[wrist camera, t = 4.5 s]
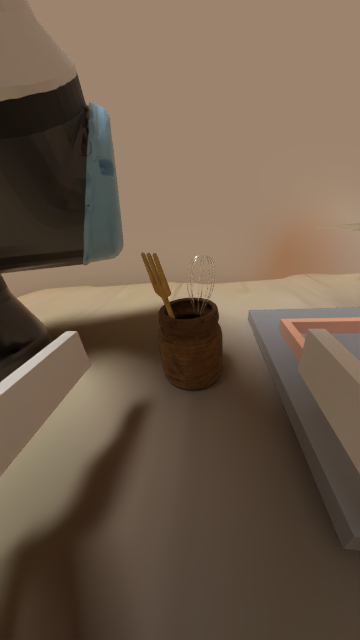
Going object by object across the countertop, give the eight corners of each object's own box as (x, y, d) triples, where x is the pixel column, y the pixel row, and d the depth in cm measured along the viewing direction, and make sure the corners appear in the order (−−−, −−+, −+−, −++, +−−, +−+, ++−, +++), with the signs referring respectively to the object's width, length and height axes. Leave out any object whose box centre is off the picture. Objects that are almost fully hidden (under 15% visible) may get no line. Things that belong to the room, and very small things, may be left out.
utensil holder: (233, 366, 19) (240, 240, 14) (193, 407, 15) (180, 254, 10) (190, 345, 23) (182, 241, 17) (150, 374, 19) (123, 252, 14)
